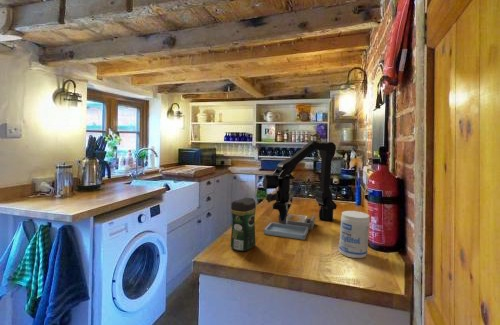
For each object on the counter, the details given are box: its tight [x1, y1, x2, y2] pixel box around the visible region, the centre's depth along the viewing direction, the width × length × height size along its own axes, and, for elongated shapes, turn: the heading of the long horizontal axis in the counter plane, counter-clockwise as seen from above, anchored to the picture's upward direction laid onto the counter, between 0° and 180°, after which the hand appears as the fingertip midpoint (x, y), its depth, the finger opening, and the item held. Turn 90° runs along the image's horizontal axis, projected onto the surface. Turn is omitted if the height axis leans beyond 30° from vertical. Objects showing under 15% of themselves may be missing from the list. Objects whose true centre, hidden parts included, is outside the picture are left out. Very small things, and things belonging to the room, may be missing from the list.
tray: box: [263, 222, 309, 241], centre depth 119 cm, size 17×11×2 cm, turn 70°
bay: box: [287, 215, 315, 231], centre depth 129 cm, size 12×9×4 cm
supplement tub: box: [338, 210, 371, 259], centre depth 98 cm, size 10×10×15 cm
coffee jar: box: [230, 196, 257, 252], centre depth 101 cm, size 10×8×19 cm
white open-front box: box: [278, 213, 308, 224], centre depth 131 cm, size 13×6×4 cm, turn 71°
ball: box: [291, 216, 299, 221], centre depth 131 cm, size 4×4×4 cm
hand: (283, 219), depth 132 cm, fingers closed on white open-front box, 3 cm apart
